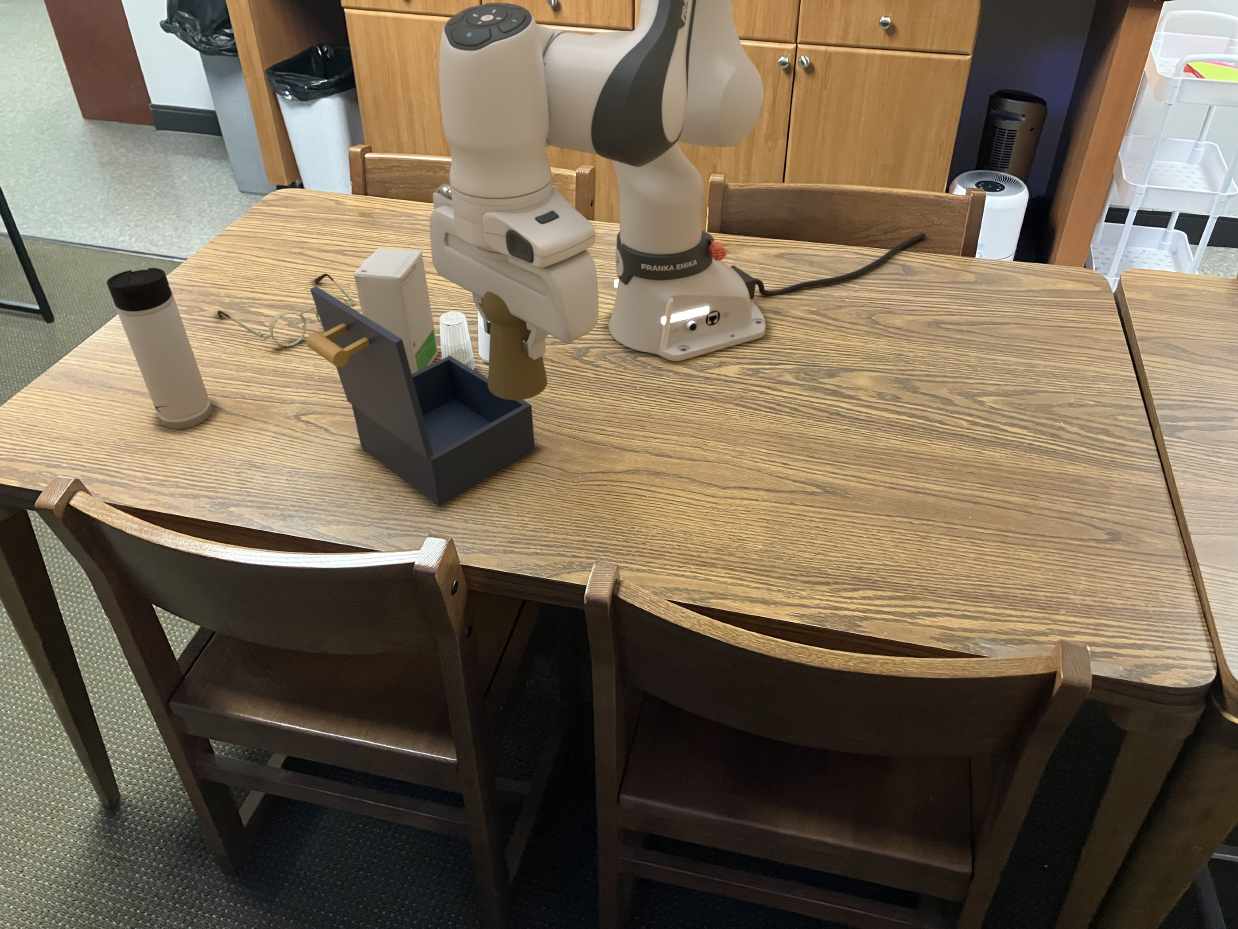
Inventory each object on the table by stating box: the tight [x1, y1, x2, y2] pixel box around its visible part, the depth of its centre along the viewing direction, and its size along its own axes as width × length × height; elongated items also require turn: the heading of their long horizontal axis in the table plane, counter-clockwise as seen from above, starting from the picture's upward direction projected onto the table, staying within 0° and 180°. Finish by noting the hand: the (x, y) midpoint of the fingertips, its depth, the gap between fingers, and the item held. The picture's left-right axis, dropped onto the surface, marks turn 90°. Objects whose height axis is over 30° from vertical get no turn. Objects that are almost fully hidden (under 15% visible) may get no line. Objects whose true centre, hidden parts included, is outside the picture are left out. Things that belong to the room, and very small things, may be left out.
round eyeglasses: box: [217, 273, 358, 347], centre depth 135 cm, size 17×15×5 cm
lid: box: [305, 285, 433, 459], centre depth 98 cm, size 15×15×5 cm
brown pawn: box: [483, 292, 548, 401], centre depth 90 cm, size 6×6×11 cm
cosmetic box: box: [353, 247, 439, 374], centre depth 122 cm, size 8×7×16 cm
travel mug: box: [106, 267, 213, 430], centre depth 112 cm, size 6×7×20 cm
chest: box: [351, 355, 536, 508], centre depth 110 cm, size 14×15×7 cm
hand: (515, 344), depth 91 cm, fingers closed on brown pawn, 4 cm apart
